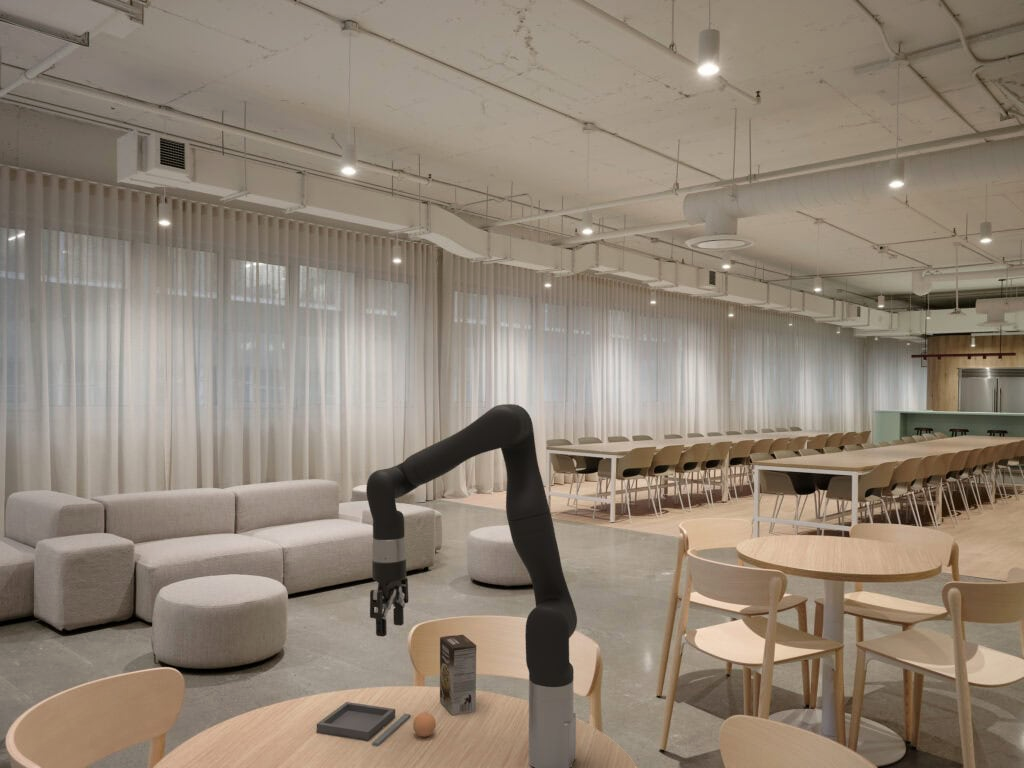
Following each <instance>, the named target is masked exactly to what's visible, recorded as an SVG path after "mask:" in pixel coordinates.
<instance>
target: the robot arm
mask: <svg viewBox="0 0 1024 768" xmlns="http://www.w3.org/2000/svg"><path fill="white" fill-rule="evenodd" d="M535 440H536V439H535V432H534V426H533V421H532V418H531V416H530V414H529V413H528V411H527V409H525V408H524V407H522V406H520V405H519V404H513V403H511V404H510V403H507V404H499V405H495V406H493V407H491V408H490V409H489V410H487V411H486V412H485V413H484V414H482V415H481V416H479V417H478V418H477V419H476V420H474V421H473V422H472V423H471V422H470V424H468V425H467V426H466V427H464V428H462V429H461V430H459V431H458V432H456V433H454V434H452V435H450V436H449V437H446V438H444V439H443V440H440V441H437V442H435V443H432V444H431V445H429V446H427V447H425V448H423V449H420V450H419V451H416V452H415V453H413V454H411V455H409V456H408V457H407V458H406V459H405V460H404V461H403V462H401V463H398V464H397V465H394V466H391V467H388V468H384V469H377V470H375V471H373V472H372V473H371V474H370V475H369V477H368V479H367V482H366V489H365V491H366V498H367V503H368V507H369V511H370V512H369V513H370V514H371V518H372V543H371V545H372V547H371V561H372V563H371V565H372V567H371V572H372V573H371V574H372V575H371V576H372V577H371V578H372V579H373V581H376V582H377V583H378V584H377V589H376V590H375V589H371V590H370V592H369V594H370V595H369V599H370V600H369V618H371V619H374V620H375V635H376V636H377V637H385V636H387V633H388V631H387V616H388V612H389V611H390V610H392V606H393V624H394V625H395V626H403V625H404V615H405V614H404V609H405V607H406V604H408V603H409V584H408V583H409V582H408V581H409V579H408V577H407V548H406V547H407V546H406V539H405V517H404V514H403V512H402V511H400V510H398V509H397V504H396V499H398V498H400V497H403V496H405V495H407V494H409V493H410V492H412V491H414V490H415V489H417V488H418V487H420V486H422V485H424V484H427V483H430V482H432V481H433V480H436V479H437V478H439V477H442V476H443V475H446V474H447V473H449V472H451V471H452V470H454V469H456V467H458V466H460V465H461V464H462V463H465V462H466V461H467V460H470V459H471V458H474V457H476V456H478V455H481V454H484V453H488V452H491V451H494V450H497V449H500V451H501V453H502V457H503V461H504V465H505V470H506V492H505V493H506V495H505V499H506V500H505V512H506V519H507V524H508V527H509V532H510V535H511V540H512V544H513V546H514V548H515V551H516V552H517V554H518V556H519V557H520V560H521V561H522V563H523V565H524V566H525V568H526V570H527V572H528V574H529V578H530V580H531V583H532V589H533V595H534V601H535V607H534V608H533V609H532V610H531V611H530V612H529V614H528V615H527V619H526V622H525V662H526V667H527V671H528V673H529V674H528V764H529V763H530V764H529V766H531V767H532V766H533V767H535V768H570V767H571V765H572V763H573V761H574V759H575V756H577V755H576V753H577V752H576V751H577V748H576V747H577V746H576V745H577V743H576V742H577V716H576V712H574V677H575V676H574V666H573V664H572V663H571V662H570V639H571V637H572V636H573V634H574V632H575V631H576V629H577V625H578V624H577V623H578V616H577V611H576V608H575V605H574V602H573V600H572V596H571V593H570V589H569V587H568V584H567V581H566V578H565V574H564V572H563V567H562V561H561V556H560V550H559V546H558V541H557V538H556V533H555V532H556V531H555V528H554V523H553V518H552V517H553V516H552V513H551V509H550V506H549V503H548V499H547V494H546V490H545V486H544V482H543V478H542V475H541V470H540V466H539V462H538V457H537V450H536V442H535ZM575 760H576V759H575ZM574 762H575V761H574ZM573 764H574V763H573ZM572 766H573V765H572ZM533 767H532V768H533ZM571 768H572V767H571Z"/></svg>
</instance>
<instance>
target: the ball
mask: <svg viewBox="0 0 1024 768" xmlns="http://www.w3.org/2000/svg"><path fill="white" fill-rule="evenodd" d="M436 724H437V723H436V719H435V717H434V715H432V714H431V713H430V712H425V711H423V712H420V713H418V714H417V715H416V716H415V718H414V719H413V723H412V725H413V731H414V732H415V733H416V735H417V736H420V737H423V738H425V737H428V736H429V737H430V736H431V735H432V734H433V733H434V732H435V729H436V726H437V725H436Z"/></svg>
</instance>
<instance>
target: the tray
mask: <svg viewBox="0 0 1024 768" xmlns="http://www.w3.org/2000/svg"><path fill="white" fill-rule="evenodd" d="M394 719H396V709H395V708H391V707H384V706H377V705H370V704H363V703H357V702H349V701H345V702H344V703H343V704H342V705H340V706H339V707H337V708H335V710H333V711H332V712H330V714H328V715H327V716H325V717H324V718H322V719H321V720H320V721H319V722H317V723H316V734H322V735H327V734H328V736H332V737H333V736H334V737H340V738H346V739H351V740H352V739H353V740H357V741H364V742H369V741H370V740H371V739H373V737H375V736H376V735H377V734H378V733H379V732H381V731H382V730H383V729H384V728H385V727H386V726H387V725H389V724H390V723H391V722H392V721H393V720H394ZM383 727H384V728H383Z"/></svg>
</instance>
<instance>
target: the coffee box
mask: <svg viewBox="0 0 1024 768" xmlns="http://www.w3.org/2000/svg"><path fill="white" fill-rule="evenodd" d="M476 685H477V644H475V643H474V642H473V641H471V640H470V638H469V637H467V636H465V634H457V635H453V634H452V635H445V636H440V637H439V702H440V704H441V705H442V706H443V707H444V708H445V709H446V711H448V712H449V714H450V715H451V716H458V715H462V714H468V713H474V712H476V710H477V709H476V705H477V704H476V703H477V702H476V697H477V695H476V694H477V693H476V692H477V686H476Z"/></svg>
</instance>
